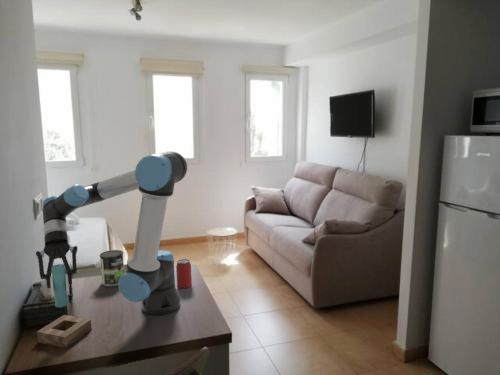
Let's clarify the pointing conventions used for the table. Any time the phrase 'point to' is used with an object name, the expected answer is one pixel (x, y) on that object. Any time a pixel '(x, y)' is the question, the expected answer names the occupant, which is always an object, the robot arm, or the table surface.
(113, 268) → the coffee can
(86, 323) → the walnut hole block
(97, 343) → the table surface
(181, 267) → the beer can
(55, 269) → the teal pin
